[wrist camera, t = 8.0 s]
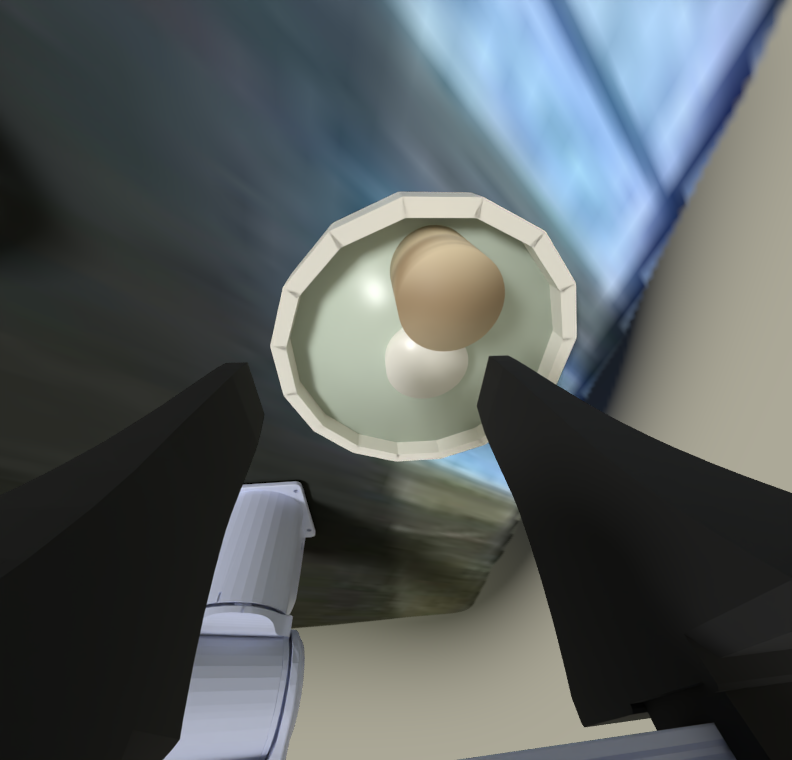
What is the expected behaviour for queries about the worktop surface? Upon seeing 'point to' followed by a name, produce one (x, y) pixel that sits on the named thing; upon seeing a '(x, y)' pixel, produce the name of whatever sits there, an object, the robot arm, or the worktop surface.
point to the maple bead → (445, 289)
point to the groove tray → (389, 344)
